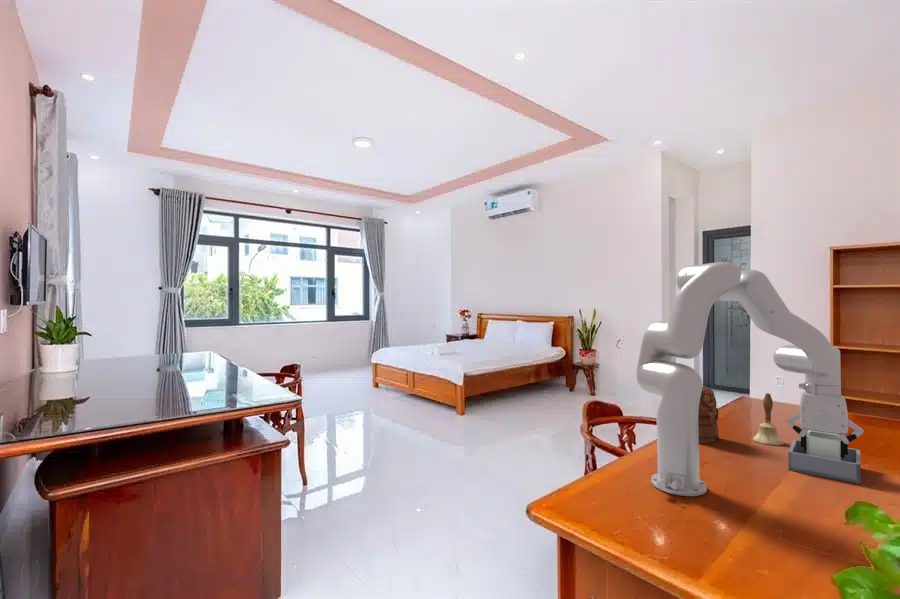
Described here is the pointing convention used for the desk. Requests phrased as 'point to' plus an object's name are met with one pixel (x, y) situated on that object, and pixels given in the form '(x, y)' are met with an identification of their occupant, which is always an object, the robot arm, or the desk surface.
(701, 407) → the wooden figurine
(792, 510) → the desk surface
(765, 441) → the hand bell
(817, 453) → the small crate
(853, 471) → the box
